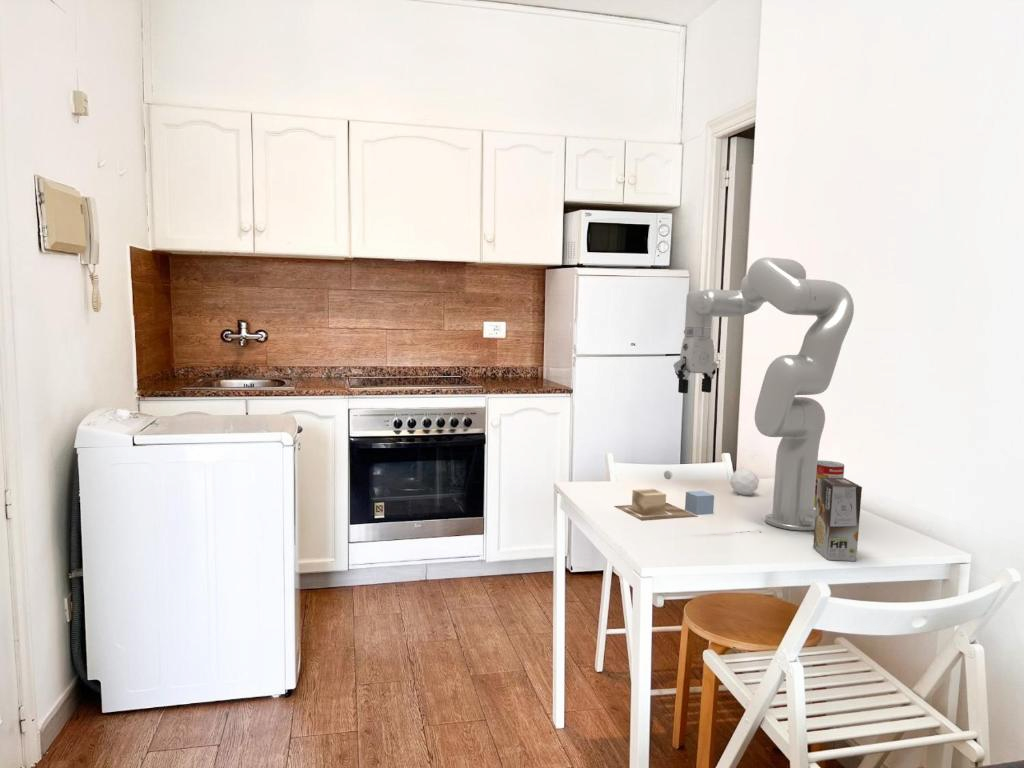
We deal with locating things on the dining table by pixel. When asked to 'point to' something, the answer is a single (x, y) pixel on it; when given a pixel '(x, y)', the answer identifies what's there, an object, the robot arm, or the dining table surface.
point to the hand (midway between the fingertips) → (694, 392)
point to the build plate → (670, 513)
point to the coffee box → (837, 518)
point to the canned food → (828, 472)
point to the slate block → (699, 502)
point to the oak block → (648, 502)
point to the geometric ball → (744, 481)
